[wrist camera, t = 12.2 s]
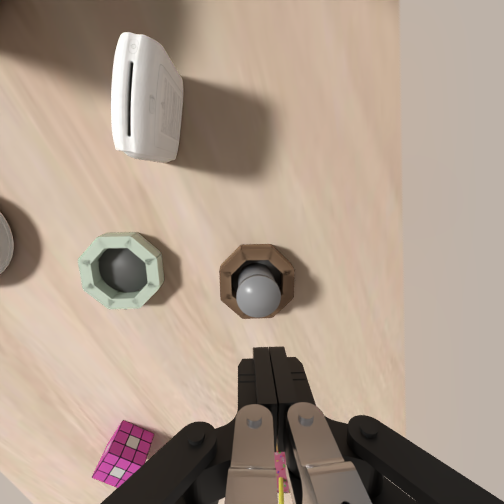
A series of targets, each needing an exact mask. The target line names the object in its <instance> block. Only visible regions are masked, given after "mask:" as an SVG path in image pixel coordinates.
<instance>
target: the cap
mask: <svg viewBox="0 0 504 504" xmlns="http://www.w3.org/2000/svg"><path fill="white" fill-rule="evenodd" d="M236 299H237V304H238V306H239V308H240V309H241V311H242V312H244V313H245V314H246V315H248V316H251V317H256V318H260V317H265V316H268V315H270V314H271V313H273V312H274V311H275V310H276V309H277V307H278V306H279V303H280V300H281V294H280V290H279V287H278V285H277V283H276V282H275V280H274V277H273V274H272V271H271V270H270V269H269V268H268V267H267V266H266V265H264V264H261V263H251V264H248V265H247V266H245V267H244V268H243V269H242V270H241V271H240V273H239V277H238V289H237V296H236Z"/></svg>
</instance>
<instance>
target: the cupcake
mask: <svg viewBox="0 0 504 504" xmlns="http://www.w3.org/2000/svg"><path fill="white" fill-rule="evenodd" d="M274 455H275V468H276V478H277V492H278V493H279V504H284V493H290V489H289V485H288V480H287V476H286V458H285V452H278V448H277V447H276V452H274Z"/></svg>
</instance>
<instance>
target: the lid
mask: <svg viewBox="0 0 504 504" xmlns="http://www.w3.org/2000/svg"><path fill="white" fill-rule="evenodd" d="M13 250H14V241H13V235H12V232H11V229H10V227H9V225H8V223H7V221H6V219H5V218H4V216H3V215H2V213H1V212H0V274H1V273H2V272H3V271H4V270H5V269H6V268H7V266H8V265H9V263H10V261H11V259H12V256H13Z"/></svg>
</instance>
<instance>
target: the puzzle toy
mask: <svg viewBox="0 0 504 504" xmlns="http://www.w3.org/2000/svg"><path fill="white" fill-rule="evenodd" d="M153 437H154V434H153V433H151V432H149V431H147V430H144V429H142V428H140V427H137V426H135V425H133V424H131V423H128V422H126V421H124V420H123V421H122V422H121V424H120V425H119V427H118V429H117V430H116V432H115V433H114V435H113V436H112V438H111V439H110V441H109V443H108V444H107V446H106V448H105V451H104V453H103V455H102V457H101V459H100V461H99V463H98V465H97V467H96V469H95V471H94V473H93V476H92V478H94V479H96V480H99V481H101V482H104V483H106V484H109V485H112V486H114V487H117V488H118V487H119V486H120V485H122V484H123V483H124V482H125V481H126V480H127V479H128V478H129V477H130V476H131V475H132V474H134V473H135V472H136V471H137V470H138V469H139V468H140V467H141V466H142V465H143V464H145V462H146V458H147V455H148V452H149V449H150V446H151V443H152V440H153Z"/></svg>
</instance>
